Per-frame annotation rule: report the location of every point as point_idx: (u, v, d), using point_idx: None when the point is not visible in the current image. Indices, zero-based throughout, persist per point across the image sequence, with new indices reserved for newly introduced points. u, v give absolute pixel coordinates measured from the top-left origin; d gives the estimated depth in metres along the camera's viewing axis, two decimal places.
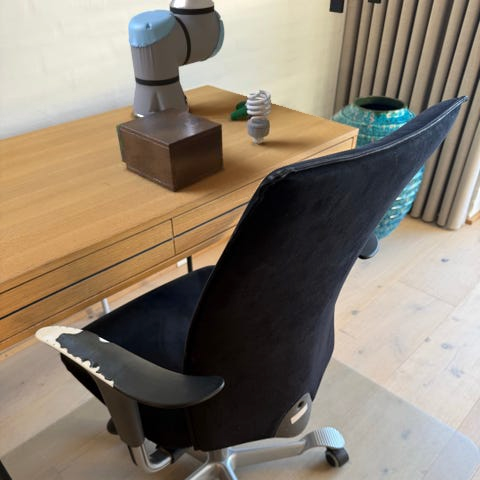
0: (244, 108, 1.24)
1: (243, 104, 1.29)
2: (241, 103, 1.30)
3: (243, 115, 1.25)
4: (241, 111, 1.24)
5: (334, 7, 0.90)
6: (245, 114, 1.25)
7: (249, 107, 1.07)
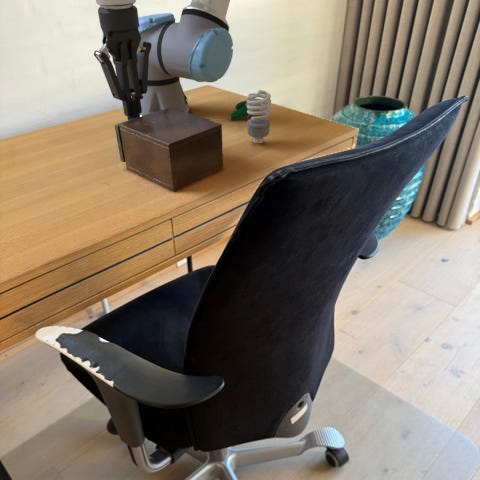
0: (244, 108, 1.24)
1: (243, 104, 1.29)
2: (241, 103, 1.30)
3: (243, 115, 1.25)
4: (241, 111, 1.24)
5: None
6: (245, 114, 1.25)
7: (249, 107, 1.07)
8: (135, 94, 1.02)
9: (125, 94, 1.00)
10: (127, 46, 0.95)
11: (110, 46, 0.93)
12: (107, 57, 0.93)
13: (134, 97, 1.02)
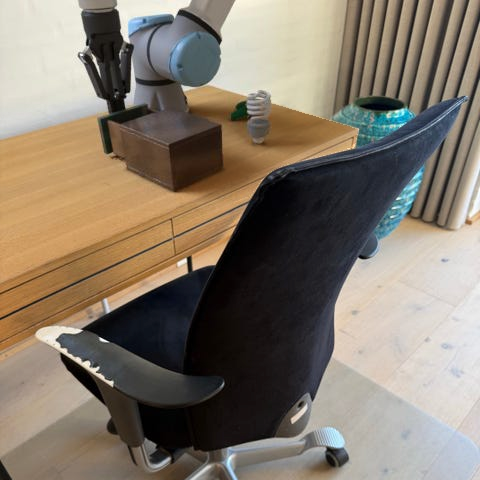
0: (244, 108, 1.24)
1: (243, 104, 1.29)
2: (241, 103, 1.30)
3: (243, 115, 1.25)
4: (241, 111, 1.24)
5: None
6: (245, 114, 1.25)
7: (249, 107, 1.07)
8: (119, 94, 1.06)
9: (109, 94, 1.04)
10: (110, 48, 0.99)
11: (93, 48, 0.97)
12: (90, 58, 0.97)
13: (118, 96, 1.07)
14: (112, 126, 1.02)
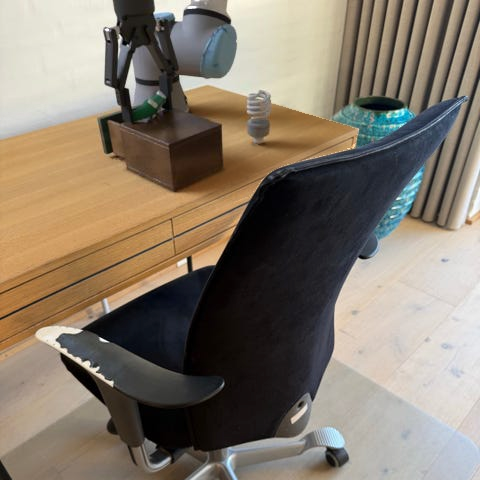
0: (146, 106, 0.96)
1: None
2: (148, 100, 1.02)
3: (145, 115, 0.97)
4: (142, 110, 0.97)
5: (125, 117, 0.97)
6: (148, 114, 0.97)
7: (249, 107, 1.07)
8: (167, 73, 0.99)
9: (118, 81, 0.91)
10: (142, 32, 0.90)
11: (123, 29, 0.87)
12: (116, 36, 0.87)
13: (167, 76, 0.99)
14: (112, 126, 1.02)
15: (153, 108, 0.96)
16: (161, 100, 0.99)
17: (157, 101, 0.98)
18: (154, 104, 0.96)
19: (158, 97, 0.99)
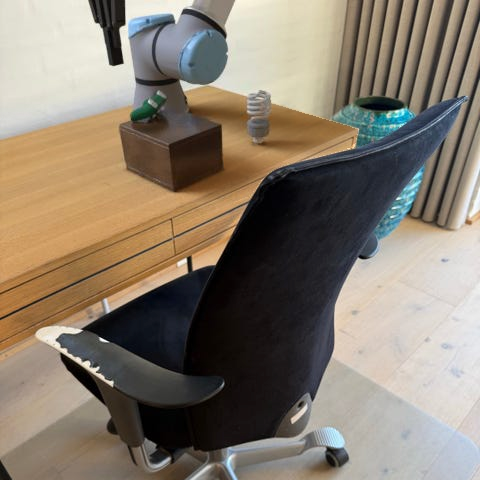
0: (146, 106, 0.96)
1: None
2: (148, 100, 1.02)
3: (145, 115, 0.97)
4: (142, 110, 0.97)
5: None
6: (148, 114, 0.97)
7: (249, 107, 1.07)
8: None
9: None
10: None
11: None
12: None
13: None
14: None
15: (153, 108, 0.96)
16: (161, 100, 0.99)
17: (157, 101, 0.98)
18: (154, 104, 0.96)
19: (158, 97, 0.99)
